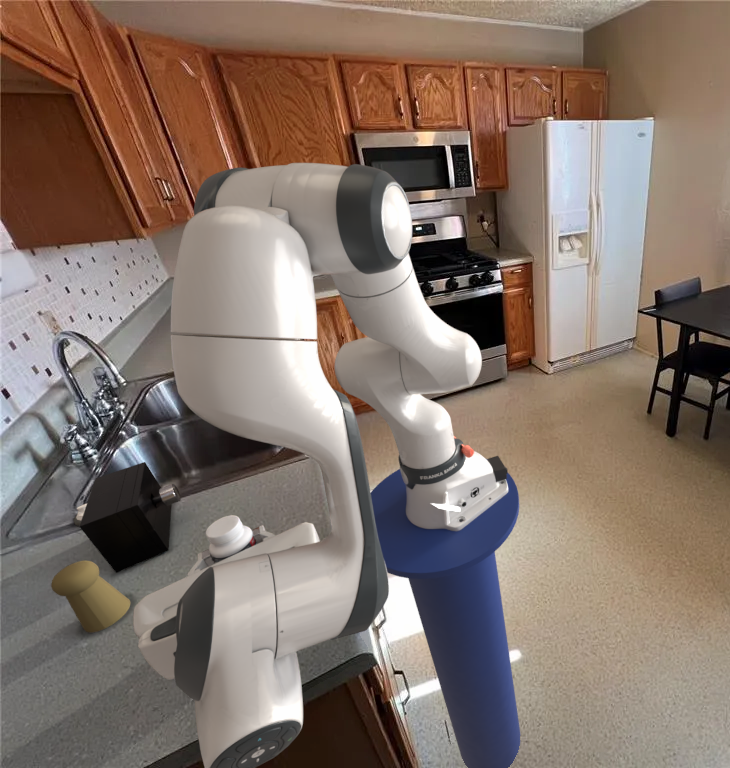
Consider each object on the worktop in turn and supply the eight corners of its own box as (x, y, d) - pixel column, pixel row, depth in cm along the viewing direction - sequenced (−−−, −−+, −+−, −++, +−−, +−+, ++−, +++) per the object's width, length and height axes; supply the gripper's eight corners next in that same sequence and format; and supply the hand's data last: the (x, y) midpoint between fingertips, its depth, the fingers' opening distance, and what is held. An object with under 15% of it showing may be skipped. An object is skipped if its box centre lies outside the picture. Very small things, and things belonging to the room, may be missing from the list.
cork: (96, 604, 71) (57, 561, 65) (137, 592, 72) (103, 549, 67) (75, 638, 65) (32, 593, 60) (120, 624, 67) (81, 580, 62)
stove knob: (75, 513, 92) (67, 504, 90) (117, 496, 96) (110, 487, 94) (73, 531, 87) (65, 521, 85) (118, 512, 91) (111, 502, 89)
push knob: (181, 493, 87) (173, 480, 85) (181, 504, 84) (172, 489, 82) (150, 505, 84) (141, 491, 82) (149, 516, 81) (139, 502, 80)
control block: (171, 504, 92) (145, 461, 86) (168, 550, 80) (137, 504, 74) (126, 521, 88) (95, 478, 82) (116, 573, 76) (79, 526, 71)
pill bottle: (272, 568, 60) (249, 524, 56) (232, 593, 57) (205, 548, 53) (260, 549, 63) (238, 506, 59) (222, 571, 60) (196, 527, 56)
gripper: (326, 551, 52) (303, 491, 62) (117, 657, 42) (132, 565, 52) (339, 584, 55) (316, 522, 65) (148, 690, 45) (156, 597, 55)
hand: (233, 542), depth 58 cm, fingers closed on pill bottle, 5 cm apart
